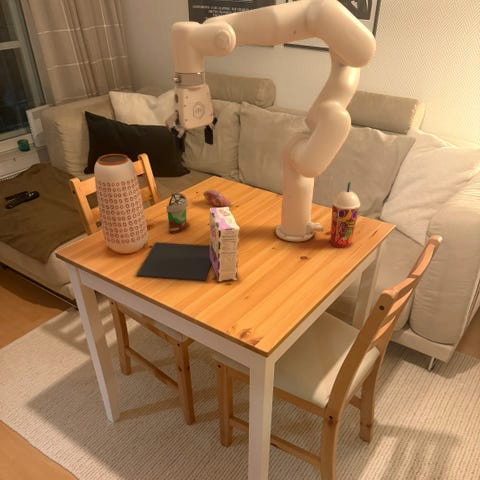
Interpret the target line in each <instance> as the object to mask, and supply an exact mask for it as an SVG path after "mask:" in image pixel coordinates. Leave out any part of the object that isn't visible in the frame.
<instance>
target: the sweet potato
mask: <svg viewBox="0 0 480 480" xmlns="http://www.w3.org/2000/svg"><path fill="white" fill-rule="evenodd" d="M203 197H204V198H205V199H206V200H207V201H209V203H210V204H212V205H216V206H217V207H221V206H223V207H230V206H231V201H230V199H228V198H226V196H225V195H224V194H222V193H221V192H219V191H217V190H215V189H210V188H208V189H207V190H205V191H204V192H203Z"/></svg>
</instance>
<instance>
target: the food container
mask: <svg viewBox="0 0 480 480" xmlns="http://www.w3.org/2000/svg"><path fill="white" fill-rule="evenodd" d="M188 205H189V201H188V198H187V197H186V195H184V194H183V193H180V192H176V191H175V192H174V191H172V192H171V197H170V199H169V202H168V205H166V213H167V221H168V228H169V233H170V234H171V233H172V234H173V233H175V234H176V233H179V232H183V231H184V230H185V229H186V228H187V207H188Z"/></svg>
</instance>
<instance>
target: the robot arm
mask: <svg viewBox="0 0 480 480" xmlns="http://www.w3.org/2000/svg"><path fill="white" fill-rule="evenodd" d="M170 32H171V43H172V54H173V64H174V76H171V81H172V83H173V84H175V86H174V87H173V88H174V89H173V113H172V114H171V115H170V116H169V117H168V118H167V119H165V121H164V124H165V126H166V128H167V129H168V132H170V133H171V134H172V135H173V136H174V141H175V147H176V150H177V151H178V152H181V153H185V152H186V144H185V143H186V141H185V137H184V133H185V131H186V130H193V129H197V128H201V127H204V129H203V131H204V132H203V135H204V143H205V144H207V145H210V146H213V145H214V130H215V128H216V125H217V123H218V120H219V115H220V113H221V112H220V110H219V109H217V108H215V107H213V103H212V102H213V101H212V96H211V95H212V94H211V90H210V87H209V84H208V83H206V73H205V71H206V70H205V56H206V57H207V56H208V57H215V58H216V57H217V58H222V57H226V56H228V55H230V54H231V52H233V51H234V49H235V47H243V46H262V47H276V46H280V45H284V44H288V43H293V42H297V41H303V40H309V39H314V38H316V39H319V40H321V41H323V43H325V45H327V46H328V53H329V57H330V61H331V62H330V63H331V66H330V72H329V76H328V78H327V80H326V82H325V83H324V85H323V87H322V89H321V91H320V92H319V94H318V95H317V97H316V98H315V101H314V102H313V104H312V105H311V107H310V108H309V110H308V111H307V115H306V117H305V124H306V126H307V128H308V130H309V131H310V132H312V134H311V135H308V134H306V133H303V132H297V133H293V134H291V135H290V136H289V137H288V138H287V139H286V140H285V142H284V144H283V147H282V168H283V169H282V170H283V172H282V173H283V176H282V177H283V178H282V179H283V181H282V196H281V214H280V224H279V225H277V226H276V228H275V234H276V236H277V237H278V238H280V239H282V240H284V241H288V242H305V241H308V240H310V239H311V238H312V237H314V234H315V233H314V232H320V233H322V232H324V227H325V225H321V223H320V222H313V221H312V217H311V216H312V206H313V194H314V188H315V187H314V185H315V178H317V177H319V176H320V175H322V174H323V173H324V172H325V170H326V169H327V168H328V167H329V165H330V164H331V163H332V161H333V159H334V158H335V156H336V155H337V154H338V152H339V150H340V149H342V146H343V145H344V144H345V141H346V140H347V138H348V136H349V134H350V131H351V129H352V118H351V115H350V113H349V111H348V110H347V107H348V106H349V104H350V102H351V101H352V99H353V97H354V95H355V93H356V91H357V89H358V86H359V83H360V80H361V79H360V78H361V68H363V67H366V66H367V65H368V64H370V63H371V61H372V60H373V58H374V57H375V54H376V52H377V51H376V50H377V42H376V38H375V36H374V34H373V33H372V32H371V31H370V30H369V28H367V26H365V25H364V24H363V23H362V22H361V21H360V20H359V19H358V18H357V17H356V16H355V15H354V14H353V13H352V12H351V11H350V10H348V8H347V7H346V6H344V5H343V4H342V2H340V1H339V0H294V1H289V2H286V3H280V4H275V5H269V6H263V7H258V8H255V9H250V10H243V11H238V12H232V13H228V14H224V15H223V14H222V15H217V16H213V17H209V18H208V19H206V20H204V21H203V23H199V22H197V21H178V22H177V21H176V22H174V23H173V24H172V26H171V31H170ZM174 124H175V127H174Z"/></svg>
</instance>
